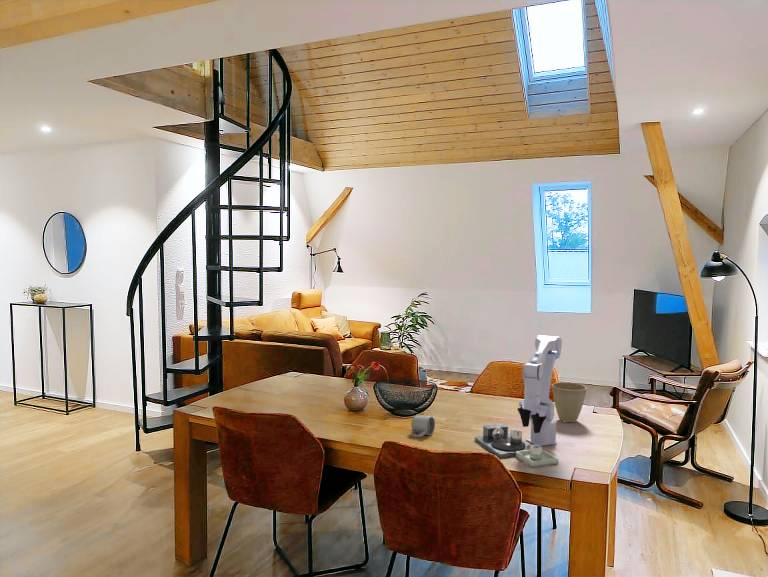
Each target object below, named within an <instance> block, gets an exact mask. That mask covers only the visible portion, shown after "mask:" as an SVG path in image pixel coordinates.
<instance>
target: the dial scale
mask: <svg viewBox="0 0 768 577" xmlns="http://www.w3.org/2000/svg"><path fill="white" fill-rule="evenodd" d="M482 427H483V430H482V431H483V432H482V435H481V436H474V441H475V442H476V443H477V444H478V445H479V446H480V445H481V446H482V447H483V448H485V449H486V450H488V451H489V452H491V453H492V454H493V453H494V454H493V455H495V456H496V455H497V456H498V457H497V456H496V457H497V458H499V459H503V458H511V457H516V451H524V450H530V446H531V444H528V443H527V442H525V441H523V440H522V443H521V444H513V443H511V442H510V435H511V432H509V426H508V425H506V424H504V423H498V424H497V423H496V424H489V425H488V424H487V425H483V426H482Z"/></svg>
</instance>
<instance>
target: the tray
mask: <svg viewBox="0 0 768 577" xmlns="http://www.w3.org/2000/svg"><path fill="white" fill-rule="evenodd" d="M515 457H516V458H517V459H518V458H519V459H518V460H520V461H521V460H522V461H521V462H523V463H524V462H525V464H526V465H527V464H528V465H527V466H529V467H530V468H539V467H544V466H545V467H546V465H547V466H552V465H553V464H554V465H558V464H559V458H558V457H557V456H555V455H553V454H551V453H550V452H548V451H546V450H545V449H543V448H542V460H540V461H533V460H531V459H530V450H524V451H516V456H515ZM554 465H553V466H554ZM538 466H539V467H538Z"/></svg>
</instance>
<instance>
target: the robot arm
mask: <svg viewBox="0 0 768 577" xmlns="http://www.w3.org/2000/svg"><path fill="white" fill-rule="evenodd" d="M562 344H563V340H562V338H561V336H559V335H557V336H554V335H544V334H543V335H541V334H537V335H536V336H535V341H534V347H535V352H534V353H532V354H531V355H530V358H529V360H528V362H527V363H524V364H523V367H522V378H523V381H522V382H523V383H524V394H523V396H524V397H523V400H519V401H518V406H519V407H518V408H517V411H518V414H519V415H520V420H521V423H522V427H523V428H525V427H529V425H530V437H529V438H526V439H525V441H527V442H528V443H530V444H531V445H539V446H541V447H543V446H550V445H557V444H558V443H557V441H556V440H557V438H556V436H557V426H556V423H555V422H554V416H555V402H554V401H552V400H551V399H550V397H549V396H550V390H551V386H552V377H553V371H554V365H555V362H556V360H558V359H560V356H561V354H562V353H561V351H562Z"/></svg>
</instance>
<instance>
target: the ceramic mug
mask: <svg viewBox="0 0 768 577" xmlns="http://www.w3.org/2000/svg"><path fill="white" fill-rule="evenodd" d="M435 426H436V422H435V417H433V416H430V415H421V414H420V415H415V416H414V417H413V418H412V419H411V431H410V432H411V436H412V437H413V438H418V439H419V438H422V437H424V436H425V435H426V436H431V435H433V434H434V432H435V428H436V427H435ZM415 433H417V434H415Z"/></svg>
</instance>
